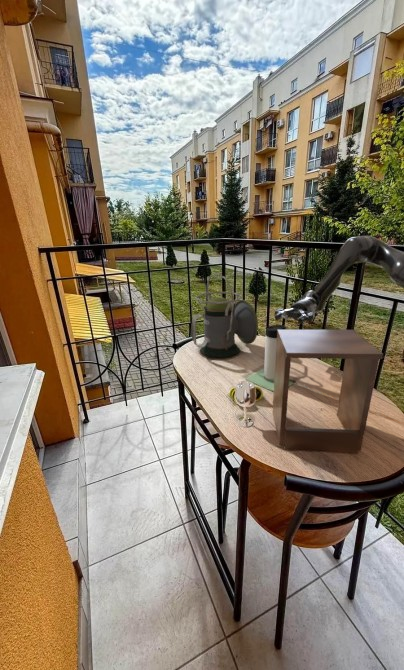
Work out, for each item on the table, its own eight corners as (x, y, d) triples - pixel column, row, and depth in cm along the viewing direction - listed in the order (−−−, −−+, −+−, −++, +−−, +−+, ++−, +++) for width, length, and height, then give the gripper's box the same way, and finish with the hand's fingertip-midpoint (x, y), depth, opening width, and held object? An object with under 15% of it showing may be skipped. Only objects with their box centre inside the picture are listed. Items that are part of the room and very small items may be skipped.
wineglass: (241, 431, 76) (242, 393, 72) (231, 419, 81) (231, 382, 77) (259, 424, 78) (260, 387, 74) (248, 413, 83) (248, 378, 79)
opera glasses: (256, 395, 94) (255, 381, 93) (263, 401, 89) (262, 386, 88) (229, 401, 91) (227, 386, 90) (235, 407, 86) (233, 391, 85)
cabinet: (272, 412, 83) (277, 329, 74) (341, 414, 81) (354, 329, 72) (279, 449, 69) (286, 352, 60) (363, 454, 67) (383, 354, 58)
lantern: (265, 354, 122) (268, 273, 110) (204, 368, 112) (201, 280, 100) (236, 336, 143) (237, 267, 131) (183, 347, 133) (178, 272, 121)
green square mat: (267, 366, 111) (267, 365, 111) (300, 378, 101) (300, 377, 101) (245, 379, 102) (245, 378, 102) (278, 394, 92) (278, 393, 92)
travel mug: (280, 384, 98) (284, 330, 91) (261, 380, 100) (264, 327, 93) (284, 375, 103) (287, 324, 96) (266, 372, 106) (268, 322, 99)
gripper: (285, 298, 118) (269, 307, 106) (321, 302, 110) (308, 312, 98) (284, 316, 120) (268, 326, 108) (319, 320, 112) (306, 332, 100)
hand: (287, 319), depth 103 cm, fingers open, 8 cm apart
